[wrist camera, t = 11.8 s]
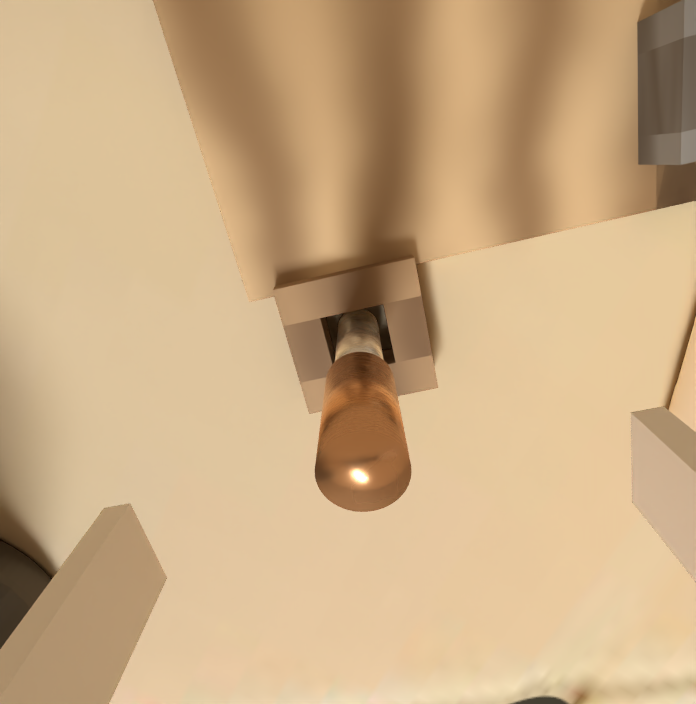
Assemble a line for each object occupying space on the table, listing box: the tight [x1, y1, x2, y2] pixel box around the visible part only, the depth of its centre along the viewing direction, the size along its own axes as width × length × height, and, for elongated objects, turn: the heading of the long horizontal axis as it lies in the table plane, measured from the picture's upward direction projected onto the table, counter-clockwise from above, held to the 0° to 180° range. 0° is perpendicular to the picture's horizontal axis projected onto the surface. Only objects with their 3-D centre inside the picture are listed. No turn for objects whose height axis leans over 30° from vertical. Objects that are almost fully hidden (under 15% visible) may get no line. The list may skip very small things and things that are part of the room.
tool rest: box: [273, 255, 438, 414], centre depth 25 cm, size 7×7×2 cm
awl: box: [315, 309, 411, 512], centre depth 20 cm, size 3×3×13 cm
